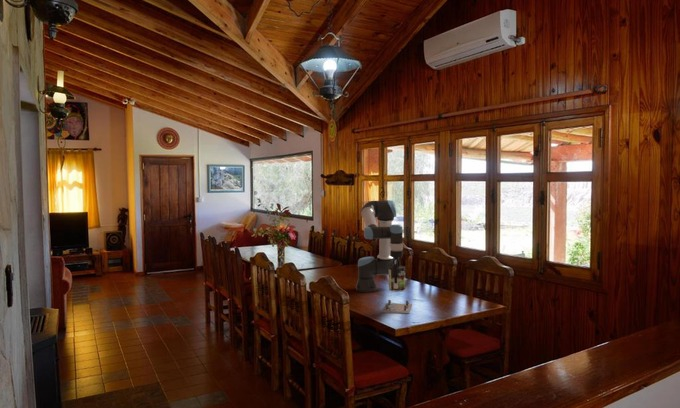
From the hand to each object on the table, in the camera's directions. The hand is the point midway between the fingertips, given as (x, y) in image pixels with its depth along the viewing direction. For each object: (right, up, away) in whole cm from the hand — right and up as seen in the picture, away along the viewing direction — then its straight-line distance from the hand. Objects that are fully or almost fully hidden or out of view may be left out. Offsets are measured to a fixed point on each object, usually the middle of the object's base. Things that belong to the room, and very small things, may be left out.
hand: (397, 286), depth 303 cm
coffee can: (0, -2, 0) cm, 2 cm away
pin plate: (0, -14, +1) cm, 14 cm away
